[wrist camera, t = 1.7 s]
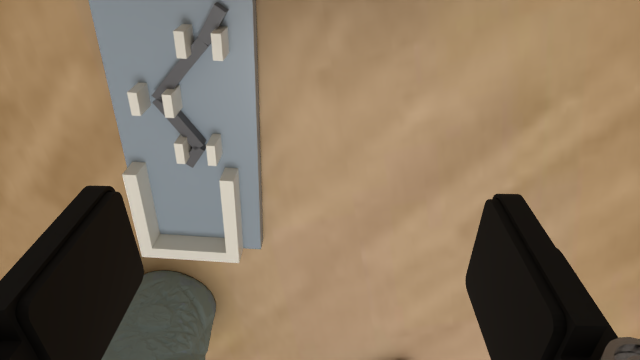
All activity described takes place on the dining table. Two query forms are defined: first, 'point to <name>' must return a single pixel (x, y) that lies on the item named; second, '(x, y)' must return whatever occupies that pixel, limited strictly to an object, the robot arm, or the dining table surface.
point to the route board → (186, 122)
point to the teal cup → (165, 320)
